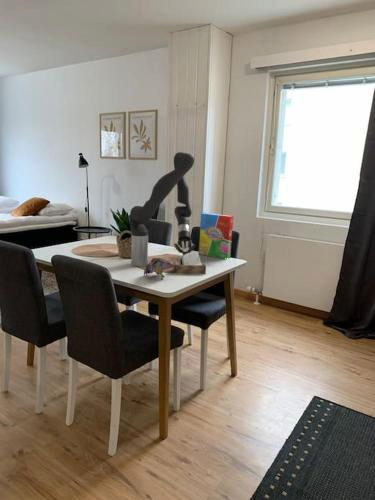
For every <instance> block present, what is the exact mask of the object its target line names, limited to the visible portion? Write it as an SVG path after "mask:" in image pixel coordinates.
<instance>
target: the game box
mask: <svg viewBox="0 0 375 500" xmlns="http://www.w3.org/2000/svg"><path fill="white" fill-rule="evenodd" d="M199 225H200V228H199V245H198V255H203V256H208V257H212V258H213V257H214V258H218V257H219V258H220V259H224V258H226V259H225V260H228V259H230V258H231V253H232V252H231V251H232V241H233V239H232V238H233V230H234V229H233V225H234V215H227V214H218V213H211V212H210V213H209V212H201V213H200V224H199ZM227 258H228V259H227Z"/></svg>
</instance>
